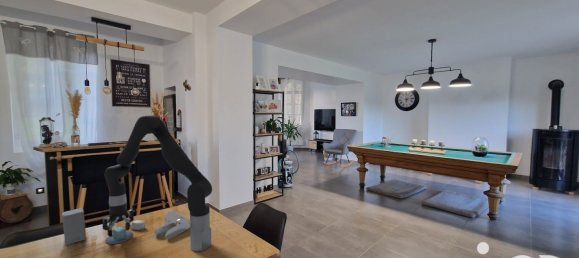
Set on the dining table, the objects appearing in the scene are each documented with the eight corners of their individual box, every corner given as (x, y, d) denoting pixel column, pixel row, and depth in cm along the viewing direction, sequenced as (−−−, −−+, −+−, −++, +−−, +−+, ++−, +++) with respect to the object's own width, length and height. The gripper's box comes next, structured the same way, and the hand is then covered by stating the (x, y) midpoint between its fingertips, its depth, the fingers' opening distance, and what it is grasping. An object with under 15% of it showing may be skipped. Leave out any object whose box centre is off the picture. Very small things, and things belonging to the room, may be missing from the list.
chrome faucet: (175, 209, 149) (192, 218, 137) (176, 219, 150) (193, 229, 138) (145, 220, 136) (160, 232, 123) (146, 232, 137) (162, 244, 124)
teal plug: (127, 238, 127) (127, 230, 126) (120, 241, 123) (120, 233, 123) (118, 233, 132) (117, 225, 131) (110, 236, 129) (110, 228, 128)
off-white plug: (146, 227, 140) (146, 221, 139) (142, 230, 136) (141, 223, 136) (133, 226, 141) (133, 219, 141) (129, 229, 138) (128, 222, 138)
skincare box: (85, 235, 131) (83, 206, 129) (86, 240, 125) (84, 210, 124) (63, 241, 125) (62, 211, 124) (64, 246, 120) (62, 215, 118)
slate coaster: (137, 236, 130) (137, 235, 130) (112, 246, 120) (112, 245, 119) (125, 230, 136) (125, 229, 136) (100, 240, 126) (100, 239, 126)
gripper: (105, 208, 118) (106, 241, 119) (136, 200, 131) (137, 229, 132) (98, 205, 122) (99, 237, 123) (128, 197, 134) (130, 225, 136)
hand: (119, 233), depth 128 cm, fingers open, 7 cm apart
